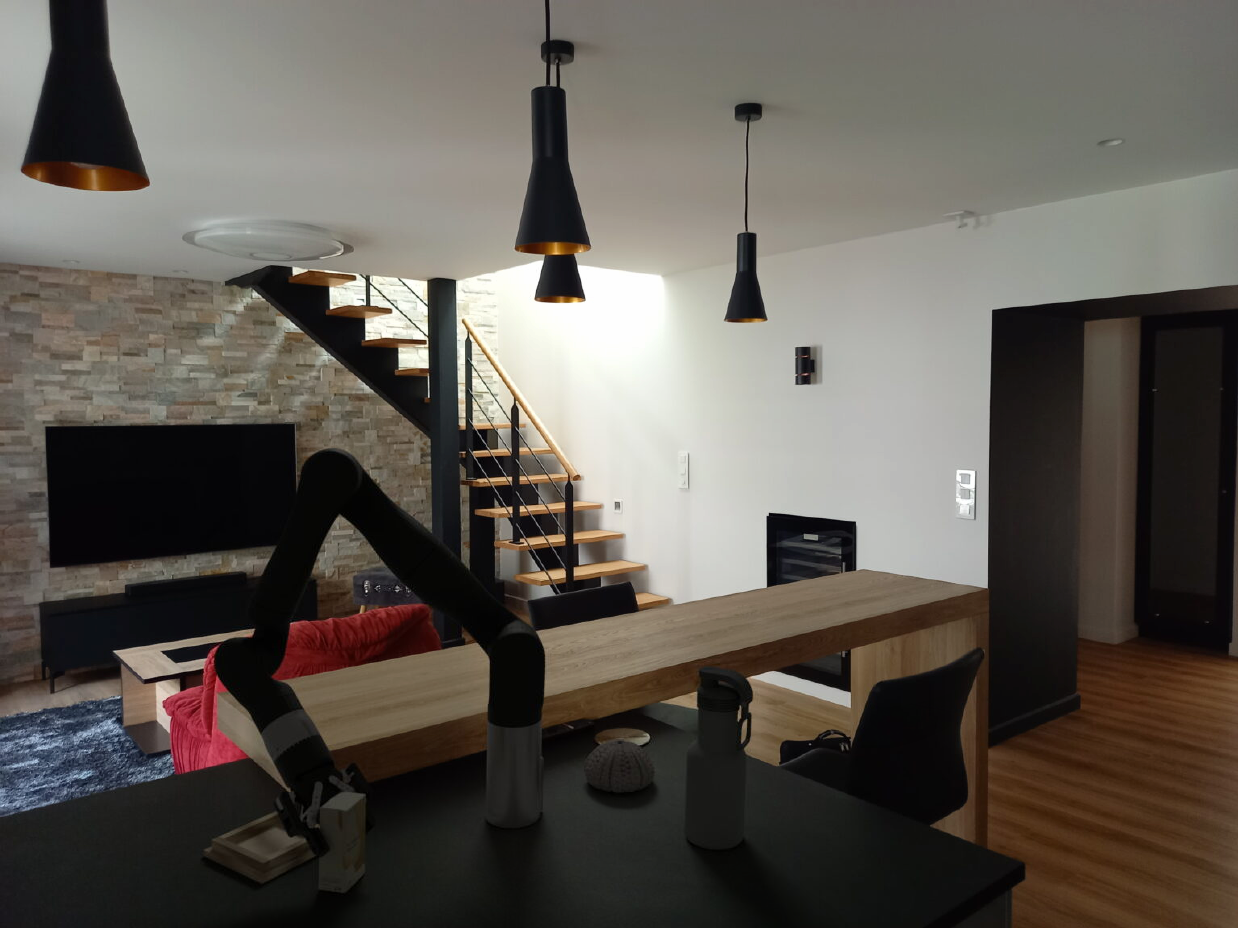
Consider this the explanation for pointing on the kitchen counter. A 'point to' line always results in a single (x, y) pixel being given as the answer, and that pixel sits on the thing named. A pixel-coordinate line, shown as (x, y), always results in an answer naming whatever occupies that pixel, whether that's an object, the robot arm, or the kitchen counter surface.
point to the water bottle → (718, 761)
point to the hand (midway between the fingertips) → (348, 841)
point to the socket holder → (260, 849)
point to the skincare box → (343, 841)
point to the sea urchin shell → (619, 767)
